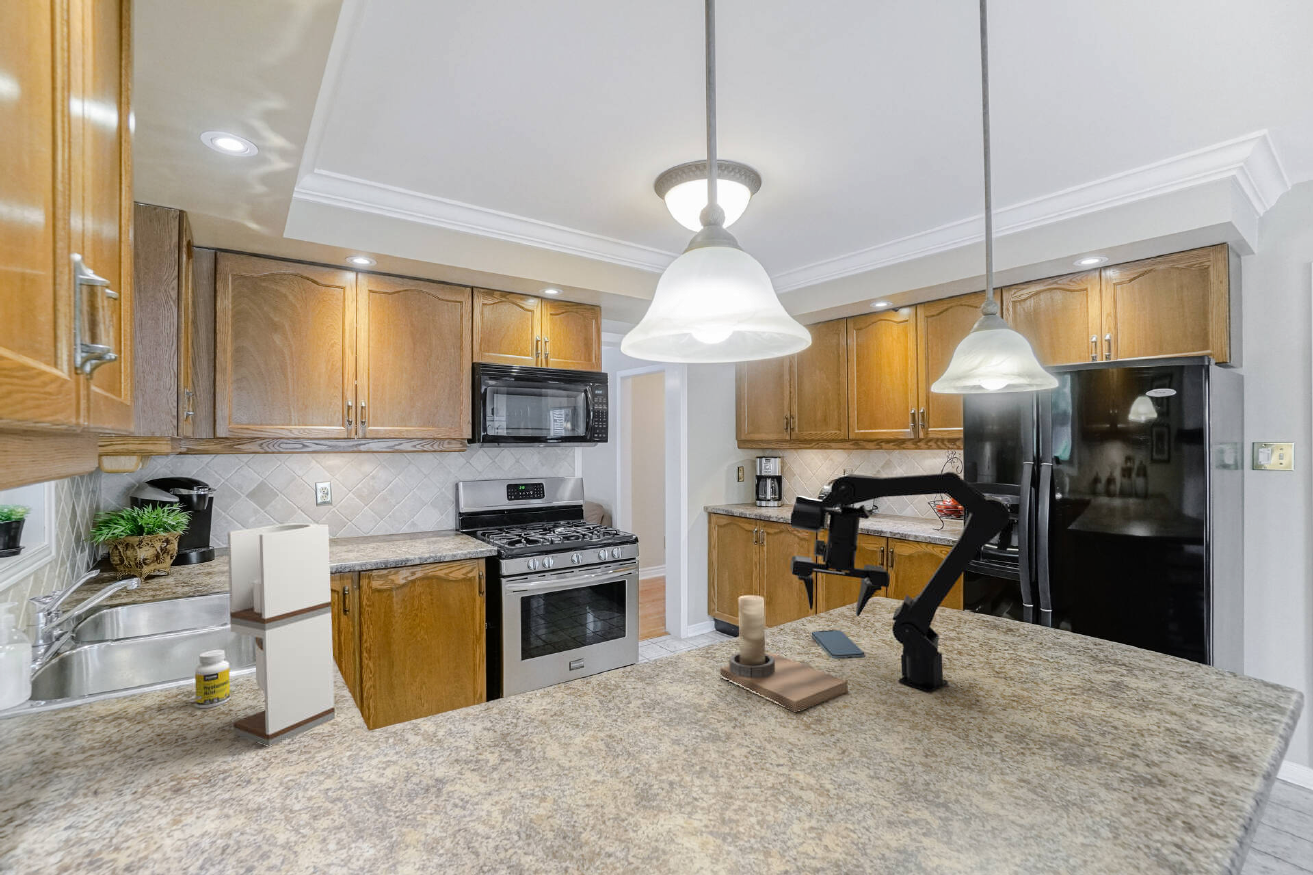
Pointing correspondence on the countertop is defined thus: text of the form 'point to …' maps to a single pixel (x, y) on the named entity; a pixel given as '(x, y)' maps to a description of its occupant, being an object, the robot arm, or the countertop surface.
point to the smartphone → (837, 644)
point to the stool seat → (785, 681)
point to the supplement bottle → (212, 679)
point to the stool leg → (751, 630)
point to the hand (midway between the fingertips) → (834, 612)
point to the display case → (284, 625)
